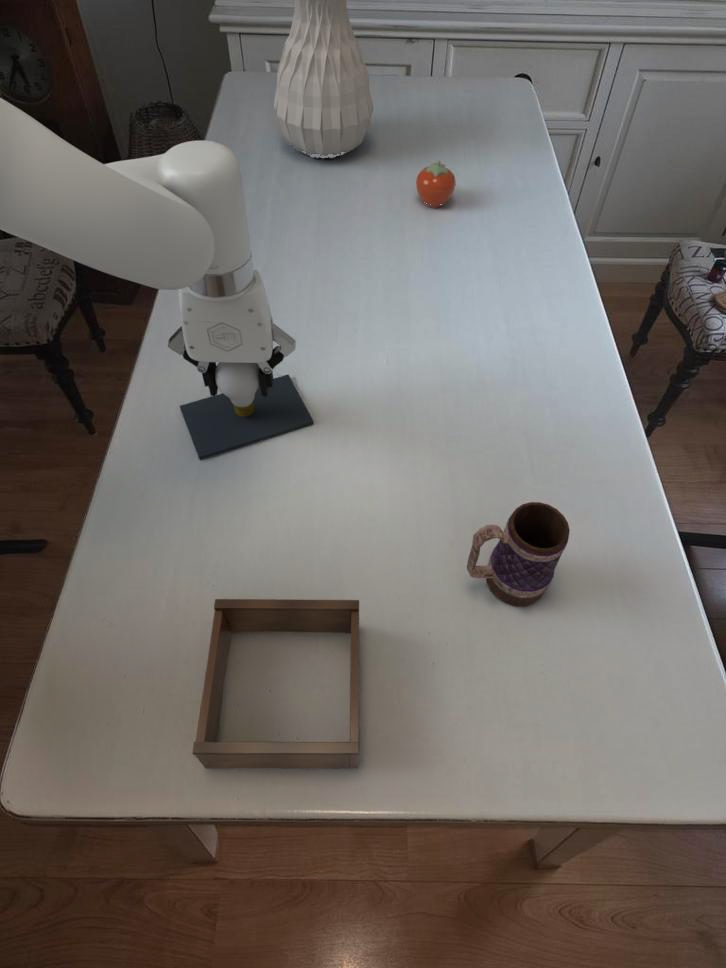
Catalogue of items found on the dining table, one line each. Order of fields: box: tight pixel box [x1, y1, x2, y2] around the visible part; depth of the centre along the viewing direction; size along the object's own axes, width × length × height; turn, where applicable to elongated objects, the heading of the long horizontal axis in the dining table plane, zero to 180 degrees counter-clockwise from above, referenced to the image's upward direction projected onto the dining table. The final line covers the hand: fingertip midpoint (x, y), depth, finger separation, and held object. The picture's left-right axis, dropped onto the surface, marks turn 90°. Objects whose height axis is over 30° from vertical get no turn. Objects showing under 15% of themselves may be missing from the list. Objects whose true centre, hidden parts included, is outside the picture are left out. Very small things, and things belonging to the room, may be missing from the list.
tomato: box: [415, 159, 457, 209], centre depth 117 cm, size 7×7×8 cm
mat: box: [179, 374, 315, 461], centre depth 86 cm, size 16×10×1 cm, turn 114°
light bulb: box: [215, 362, 260, 417], centre depth 82 cm, size 6×6×10 cm
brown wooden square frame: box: [191, 598, 360, 769], centre depth 62 cm, size 15×15×6 cm
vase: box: [273, 0, 374, 158], centre depth 120 cm, size 20×20×30 cm
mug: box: [466, 501, 571, 607], centre depth 68 cm, size 10×7×12 cm
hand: (240, 387), depth 82 cm, fingers closed on light bulb, 6 cm apart
